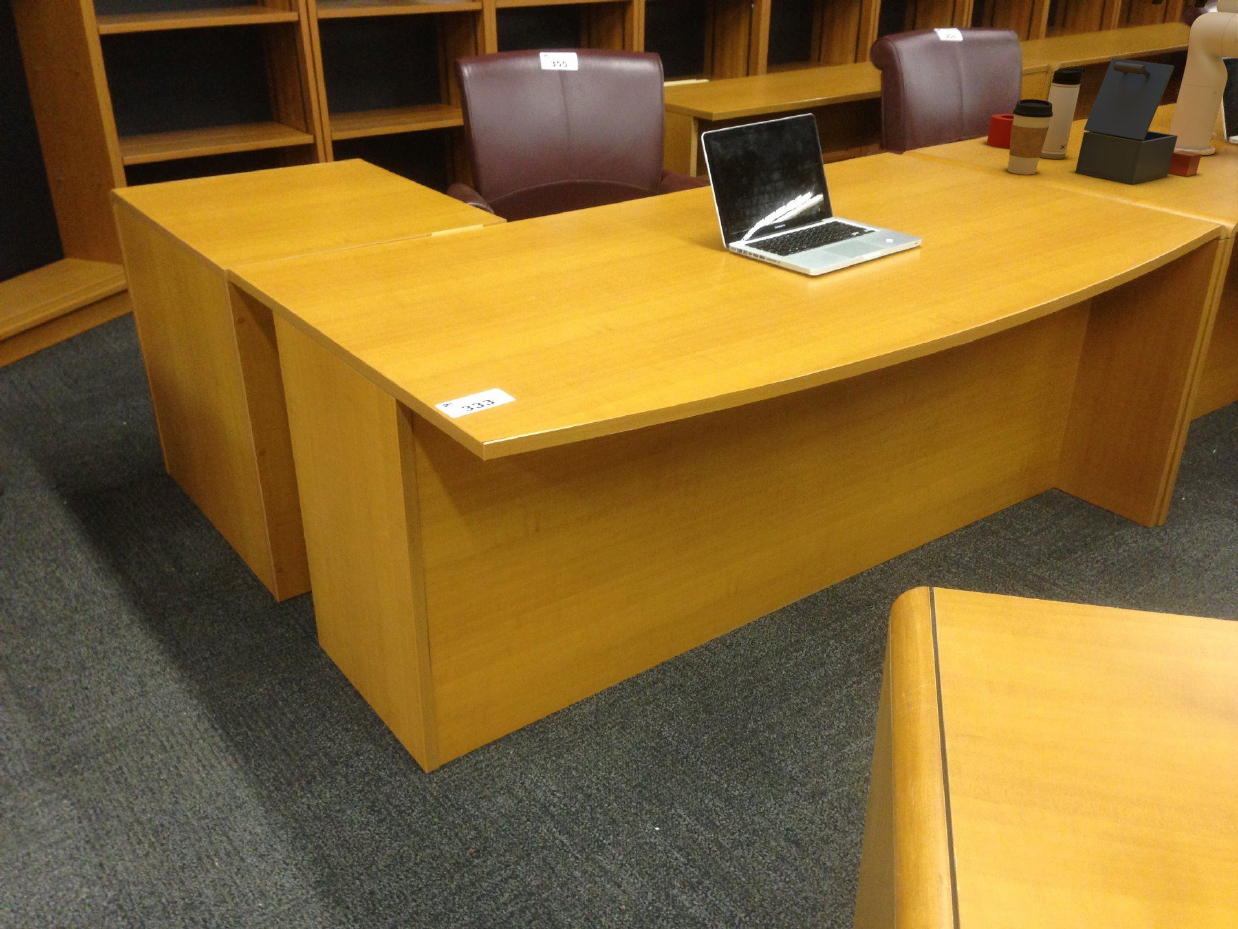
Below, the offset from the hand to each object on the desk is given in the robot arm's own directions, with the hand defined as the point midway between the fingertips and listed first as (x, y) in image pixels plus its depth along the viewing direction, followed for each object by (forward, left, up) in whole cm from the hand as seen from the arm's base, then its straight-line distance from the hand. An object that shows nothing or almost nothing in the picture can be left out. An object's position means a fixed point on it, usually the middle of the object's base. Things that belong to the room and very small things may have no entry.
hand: (1177, 5), depth 230 cm
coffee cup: (+32, -10, -34) cm, 48 cm away
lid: (+20, +4, -18) cm, 27 cm away
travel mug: (+11, -16, -34) cm, 39 cm away
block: (+2, +11, -34) cm, 36 cm away
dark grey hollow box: (+15, +4, -34) cm, 37 cm away
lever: (+6, -27, -34) cm, 44 cm away
